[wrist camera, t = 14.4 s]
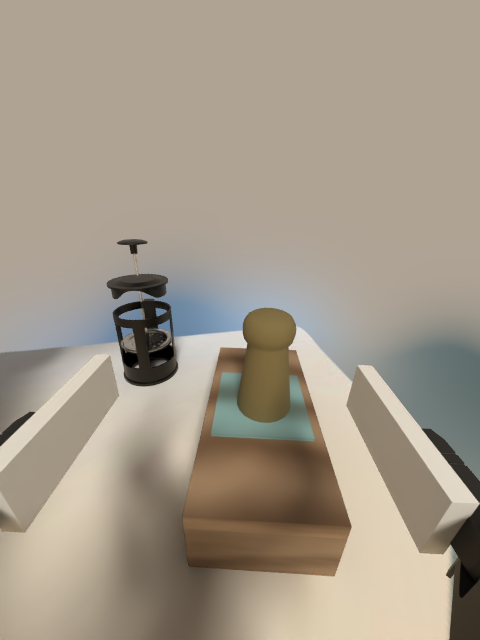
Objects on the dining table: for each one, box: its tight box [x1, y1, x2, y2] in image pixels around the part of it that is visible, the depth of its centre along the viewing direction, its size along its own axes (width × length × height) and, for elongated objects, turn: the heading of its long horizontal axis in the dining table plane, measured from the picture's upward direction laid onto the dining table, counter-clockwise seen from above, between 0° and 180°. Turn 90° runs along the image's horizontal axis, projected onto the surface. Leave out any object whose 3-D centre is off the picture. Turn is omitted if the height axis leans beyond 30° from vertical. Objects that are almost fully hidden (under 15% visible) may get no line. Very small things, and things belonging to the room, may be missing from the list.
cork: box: [237, 308, 296, 423], centre depth 26 cm, size 6×6×11 cm
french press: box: [107, 239, 178, 386], centre depth 41 cm, size 12×9×23 cm
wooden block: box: [182, 348, 351, 576], centre depth 30 cm, size 24×12×7 cm, turn 178°
